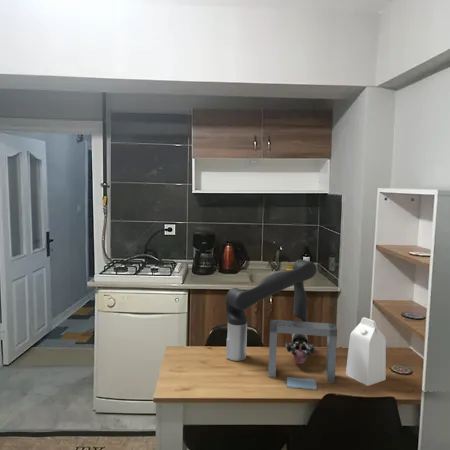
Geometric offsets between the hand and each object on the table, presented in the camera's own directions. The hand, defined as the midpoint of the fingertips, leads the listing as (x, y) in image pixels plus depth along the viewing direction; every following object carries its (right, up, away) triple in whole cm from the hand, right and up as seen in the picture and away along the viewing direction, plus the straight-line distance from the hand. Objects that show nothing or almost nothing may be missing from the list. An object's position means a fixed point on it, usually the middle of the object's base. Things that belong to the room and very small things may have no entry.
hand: (301, 354), depth 189 cm
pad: (-2, -9, -12) cm, 15 cm away
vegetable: (0, -6, +3) cm, 7 cm away
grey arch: (-1, -8, -4) cm, 9 cm away
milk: (+27, -9, -4) cm, 29 cm away
